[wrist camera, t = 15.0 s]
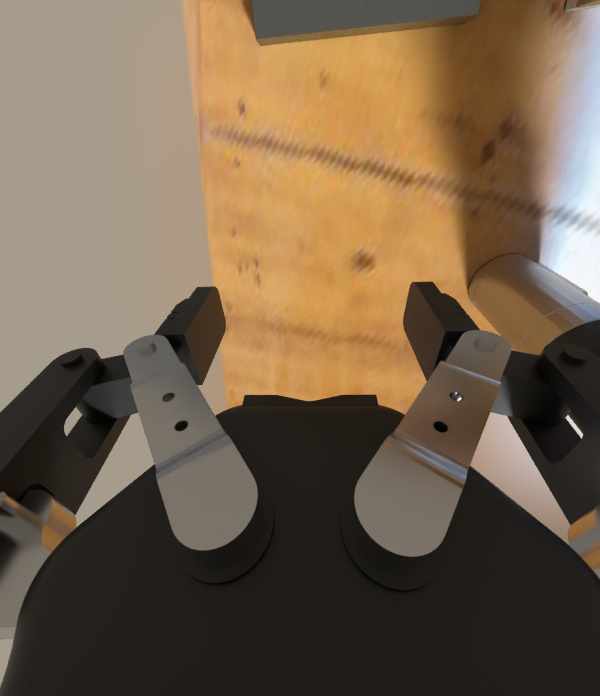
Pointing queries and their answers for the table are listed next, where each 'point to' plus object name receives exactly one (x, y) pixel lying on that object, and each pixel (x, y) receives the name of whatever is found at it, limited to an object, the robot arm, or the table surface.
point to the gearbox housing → (352, 17)
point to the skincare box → (581, 4)
